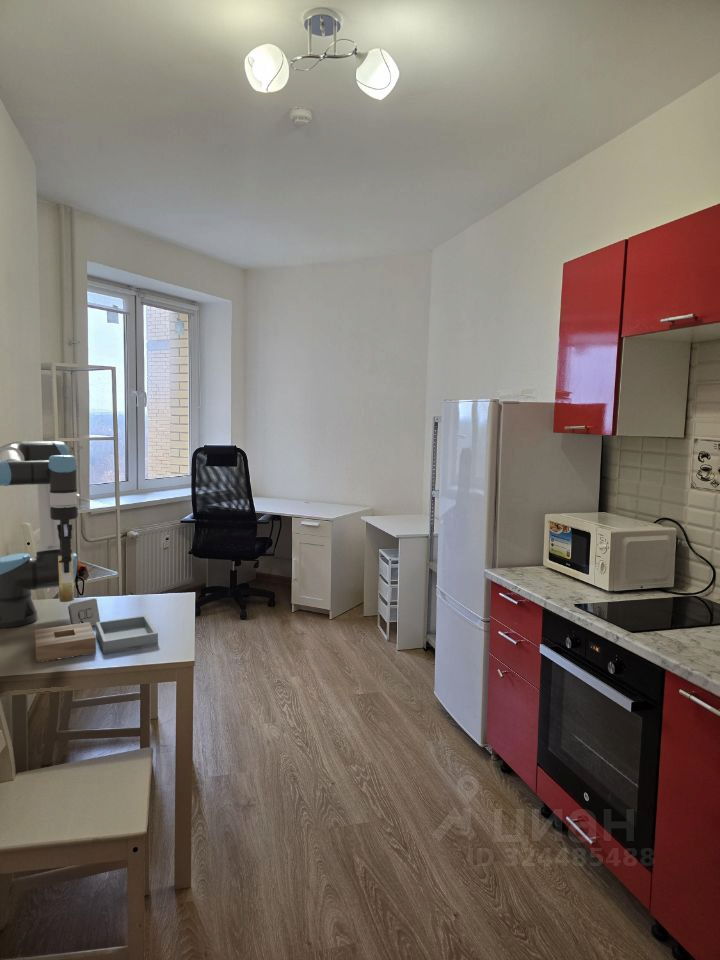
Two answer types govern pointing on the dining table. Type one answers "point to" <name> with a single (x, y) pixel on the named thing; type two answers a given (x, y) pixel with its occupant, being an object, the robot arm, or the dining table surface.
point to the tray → (126, 634)
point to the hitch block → (64, 641)
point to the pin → (65, 584)
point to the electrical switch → (84, 612)
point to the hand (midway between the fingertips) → (66, 580)
